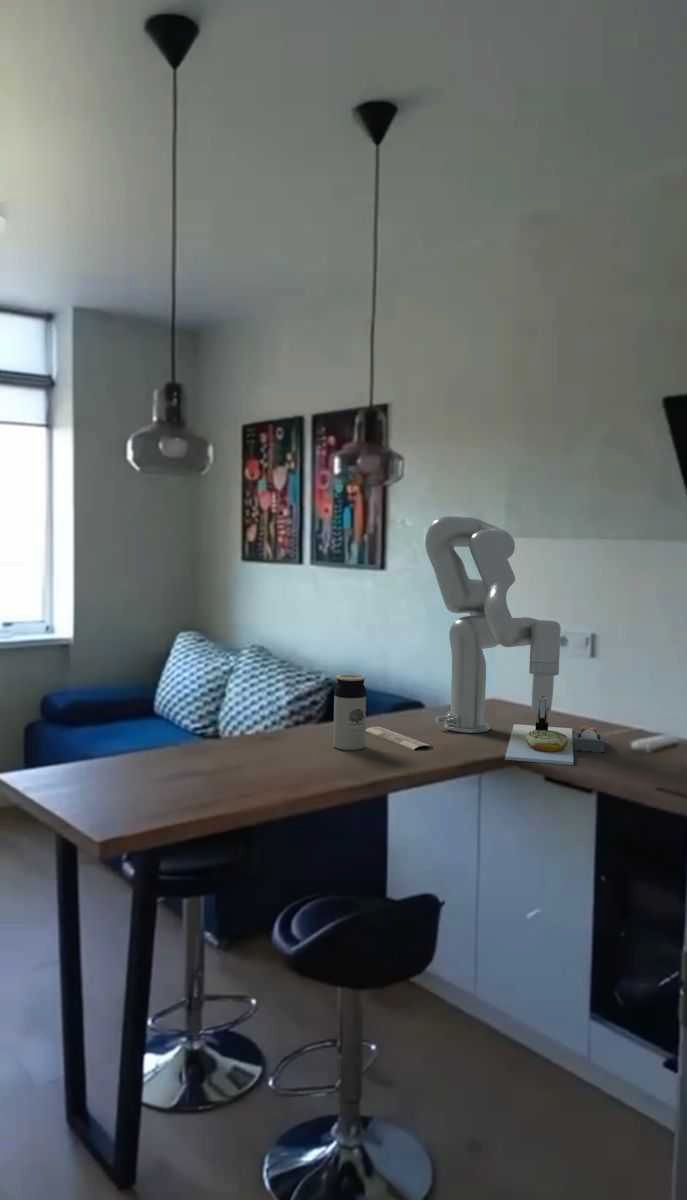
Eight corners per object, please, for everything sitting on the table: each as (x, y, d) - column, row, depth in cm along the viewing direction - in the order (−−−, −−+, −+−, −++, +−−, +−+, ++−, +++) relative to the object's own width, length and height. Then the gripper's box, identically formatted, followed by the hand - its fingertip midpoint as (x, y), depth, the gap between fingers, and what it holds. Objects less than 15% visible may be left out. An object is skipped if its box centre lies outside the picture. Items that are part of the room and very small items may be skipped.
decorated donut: (526, 751, 223) (526, 736, 222) (524, 741, 233) (525, 727, 233) (569, 753, 221) (570, 738, 221) (565, 743, 232) (566, 729, 231)
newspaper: (433, 751, 227) (433, 744, 227) (410, 753, 224) (410, 746, 224) (383, 732, 248) (383, 725, 247) (361, 734, 244) (361, 727, 244)
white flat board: (513, 727, 255) (514, 724, 255) (571, 731, 251) (572, 728, 251) (505, 759, 217) (505, 756, 217) (573, 765, 213) (573, 761, 213)
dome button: (579, 743, 234) (579, 726, 234) (597, 744, 233) (598, 728, 233) (579, 747, 230) (580, 730, 229) (598, 748, 229) (598, 732, 228)
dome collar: (573, 743, 236) (573, 732, 236) (603, 746, 234) (603, 734, 234) (573, 750, 229) (573, 738, 228) (604, 752, 227) (604, 741, 227)
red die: (579, 740, 241) (580, 725, 240) (595, 741, 240) (595, 726, 239) (580, 743, 237) (580, 728, 236) (595, 744, 236) (596, 729, 235)
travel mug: (329, 743, 229) (331, 674, 228) (360, 742, 231) (361, 673, 230) (337, 751, 221) (339, 679, 220) (368, 750, 223) (370, 678, 222)
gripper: (530, 663, 241) (527, 730, 243) (528, 671, 227) (526, 742, 228) (558, 665, 240) (556, 732, 241) (559, 673, 225) (556, 745, 226)
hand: (541, 737), depth 234 cm, fingers closed
